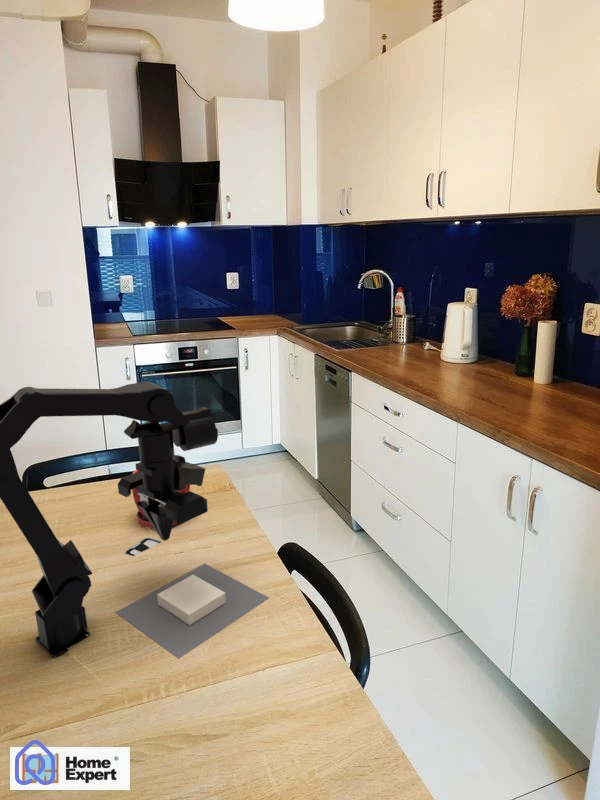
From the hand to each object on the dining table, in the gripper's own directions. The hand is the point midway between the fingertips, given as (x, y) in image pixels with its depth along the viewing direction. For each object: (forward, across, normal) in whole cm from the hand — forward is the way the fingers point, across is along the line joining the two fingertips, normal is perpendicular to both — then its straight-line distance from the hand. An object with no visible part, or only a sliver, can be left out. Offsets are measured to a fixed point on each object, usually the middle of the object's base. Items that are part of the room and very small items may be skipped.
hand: (165, 539), depth 102 cm
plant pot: (+12, +27, -17) cm, 34 cm away
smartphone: (+12, +14, -8) cm, 20 cm away
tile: (+10, -1, -1) cm, 10 cm away
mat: (+12, -6, -1) cm, 13 cm away
